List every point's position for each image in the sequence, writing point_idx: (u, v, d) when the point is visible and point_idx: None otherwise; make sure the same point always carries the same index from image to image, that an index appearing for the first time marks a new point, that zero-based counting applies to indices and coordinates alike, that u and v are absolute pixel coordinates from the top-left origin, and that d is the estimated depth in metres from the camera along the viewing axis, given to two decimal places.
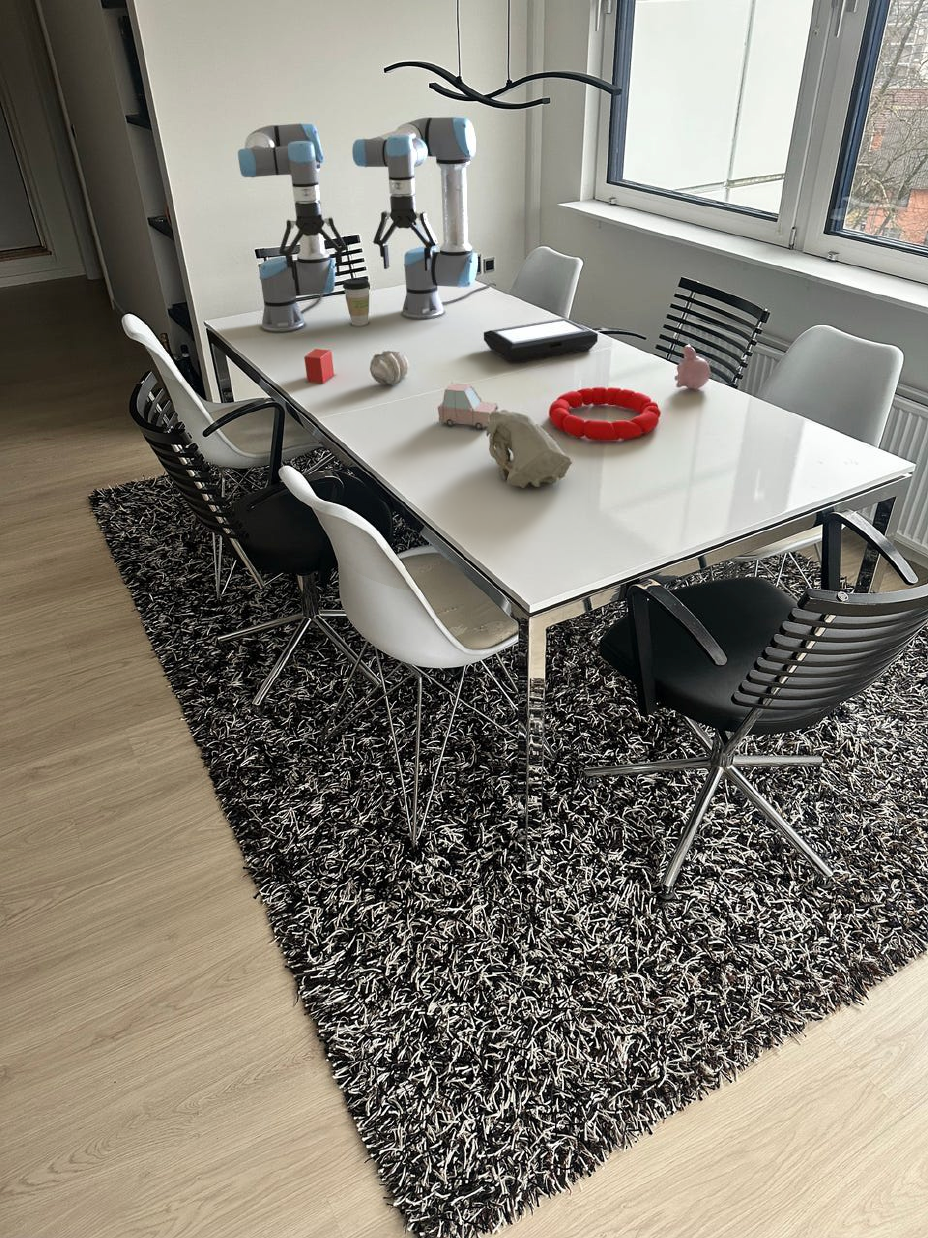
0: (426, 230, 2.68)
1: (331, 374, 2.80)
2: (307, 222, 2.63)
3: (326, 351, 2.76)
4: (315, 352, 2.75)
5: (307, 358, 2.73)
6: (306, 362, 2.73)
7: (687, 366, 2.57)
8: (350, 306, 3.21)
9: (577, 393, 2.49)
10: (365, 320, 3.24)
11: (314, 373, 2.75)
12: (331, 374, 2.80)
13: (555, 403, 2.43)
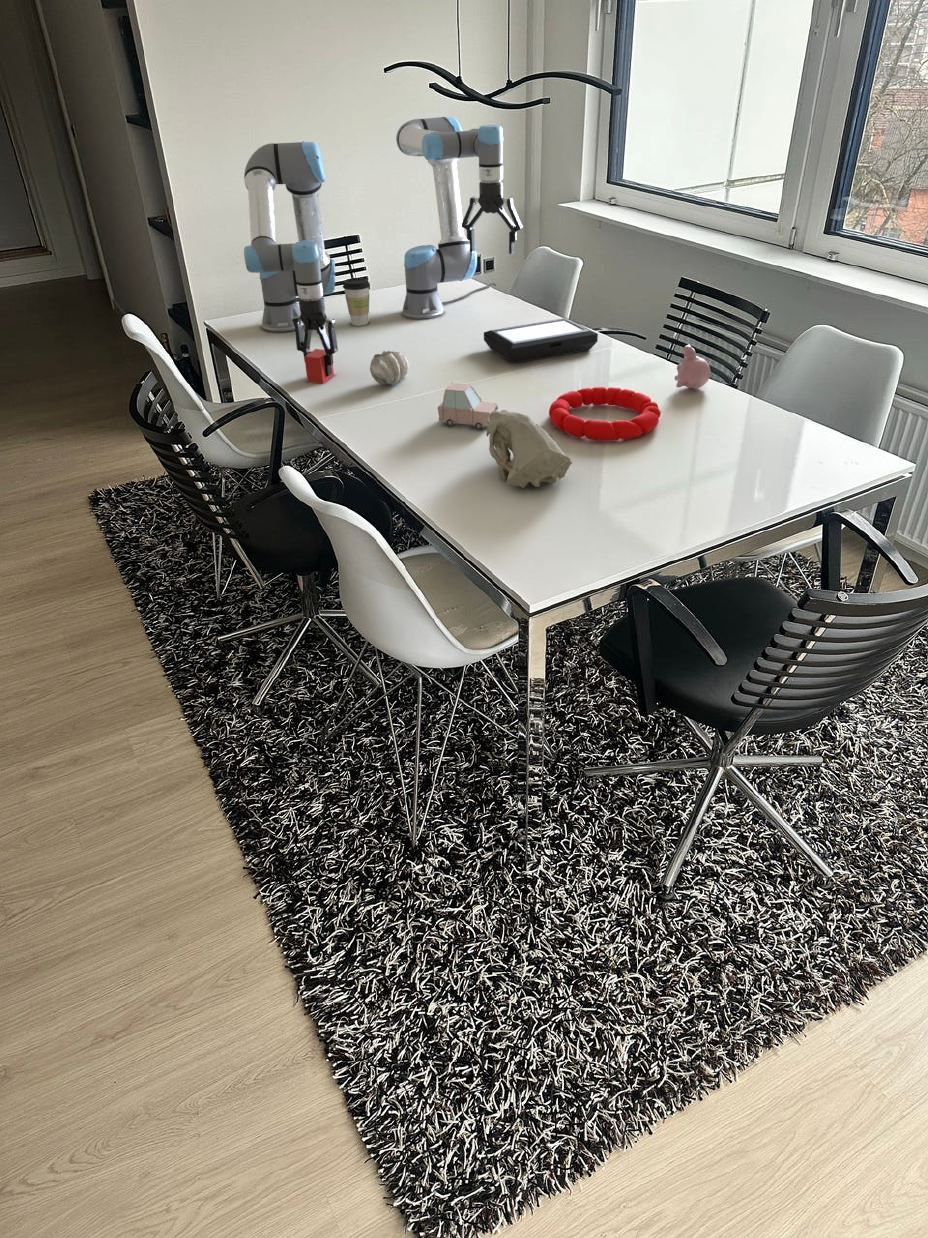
0: (512, 215, 2.84)
1: (331, 374, 2.80)
2: (308, 314, 2.67)
3: None
4: (315, 352, 2.75)
5: (307, 358, 2.73)
6: (306, 362, 2.73)
7: (687, 366, 2.57)
8: (350, 306, 3.21)
9: (577, 393, 2.49)
10: (365, 320, 3.24)
11: (314, 373, 2.75)
12: (331, 374, 2.80)
13: (555, 403, 2.43)
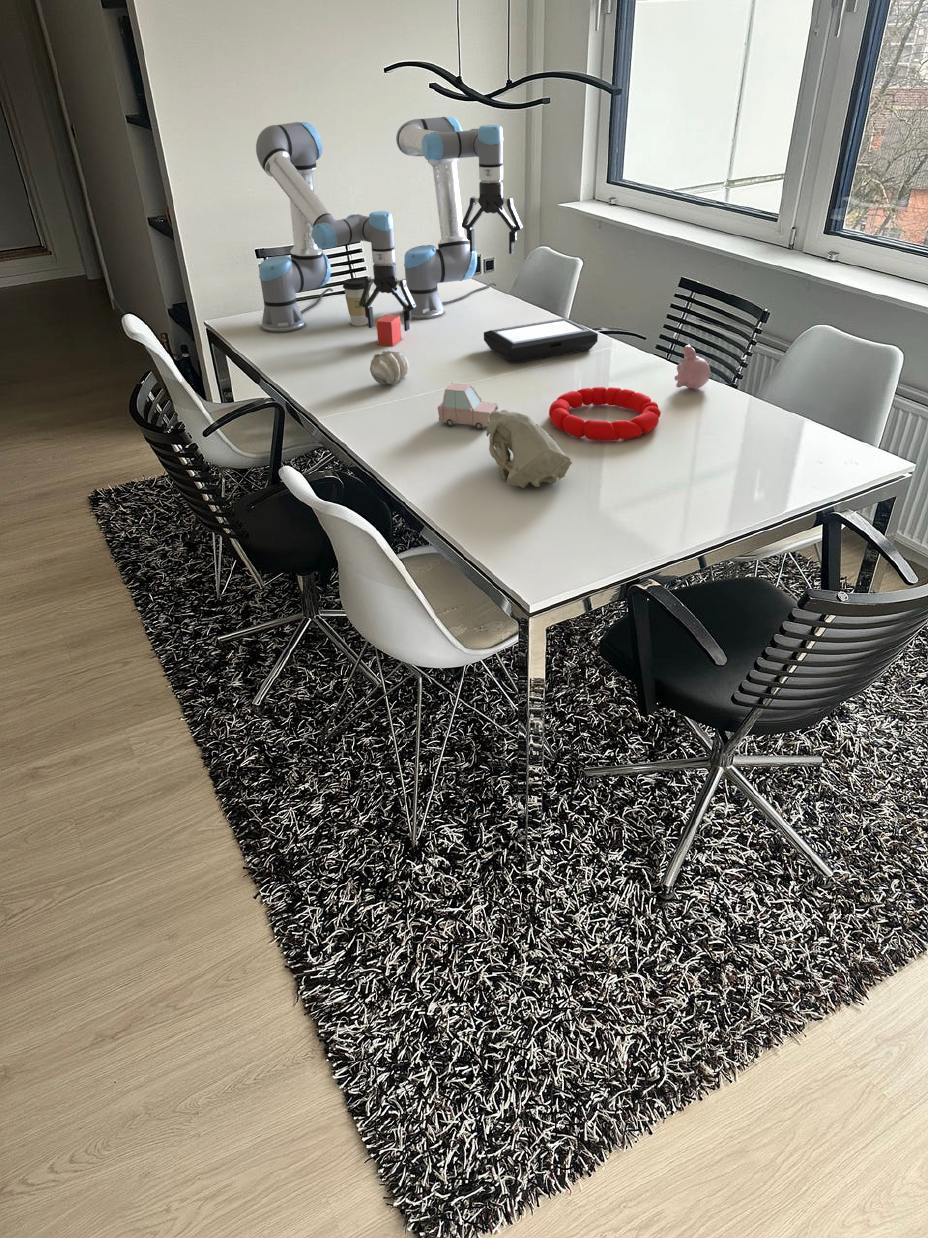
0: (512, 215, 2.84)
1: (399, 337, 3.08)
2: (382, 281, 2.96)
3: (395, 316, 3.05)
4: (386, 317, 3.04)
5: (379, 323, 3.01)
6: (378, 326, 3.02)
7: (687, 366, 2.57)
8: (350, 306, 3.21)
9: (577, 393, 2.49)
10: (365, 320, 3.24)
11: (385, 336, 3.03)
12: (399, 338, 3.08)
13: (555, 403, 2.43)
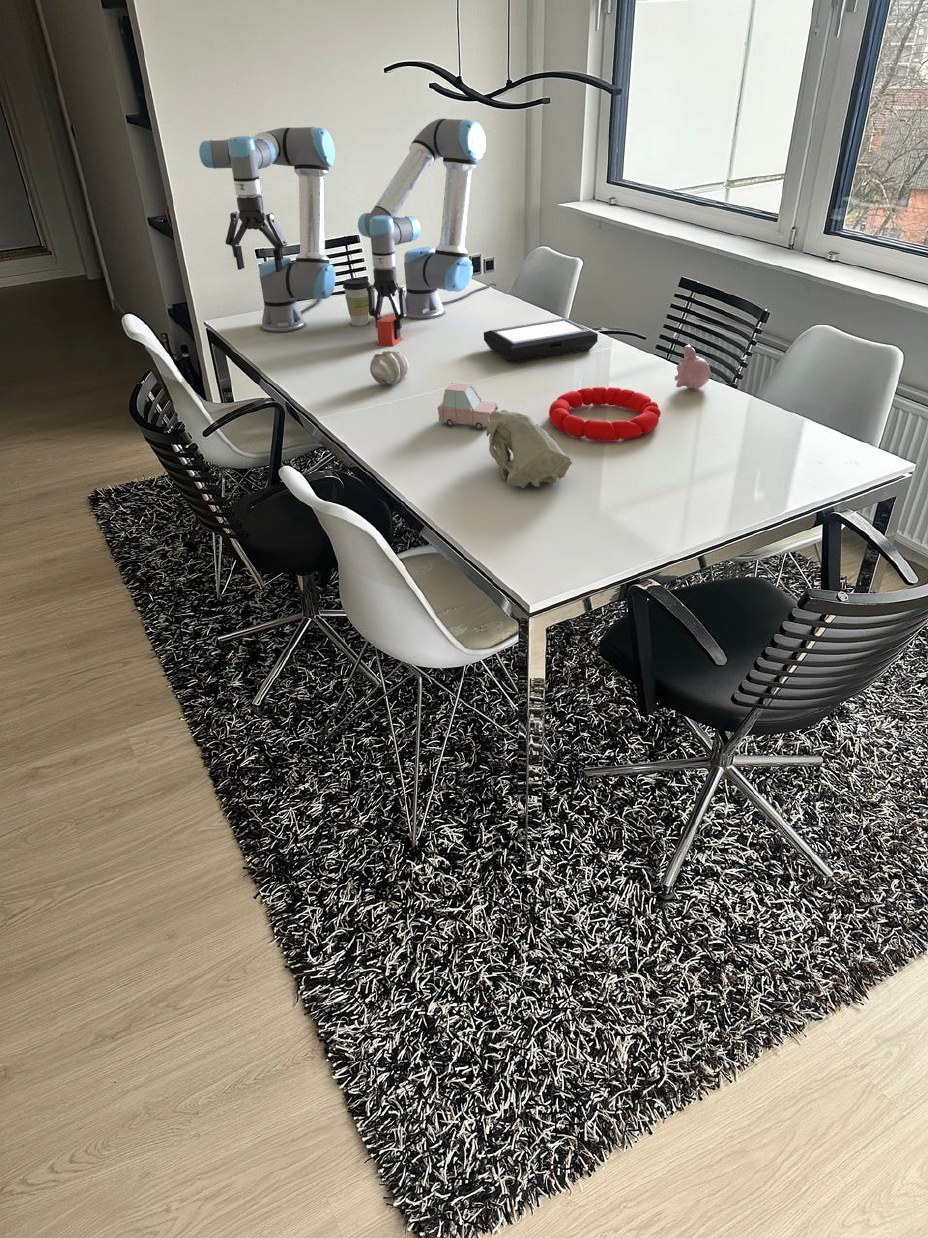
0: (400, 303, 2.98)
1: None
2: (247, 216, 2.68)
3: None
4: (386, 317, 3.04)
5: (379, 323, 3.01)
6: (378, 326, 3.02)
7: (687, 366, 2.57)
8: (350, 306, 3.21)
9: (577, 393, 2.49)
10: (365, 320, 3.24)
11: (385, 336, 3.03)
12: (399, 338, 3.08)
13: (555, 403, 2.43)
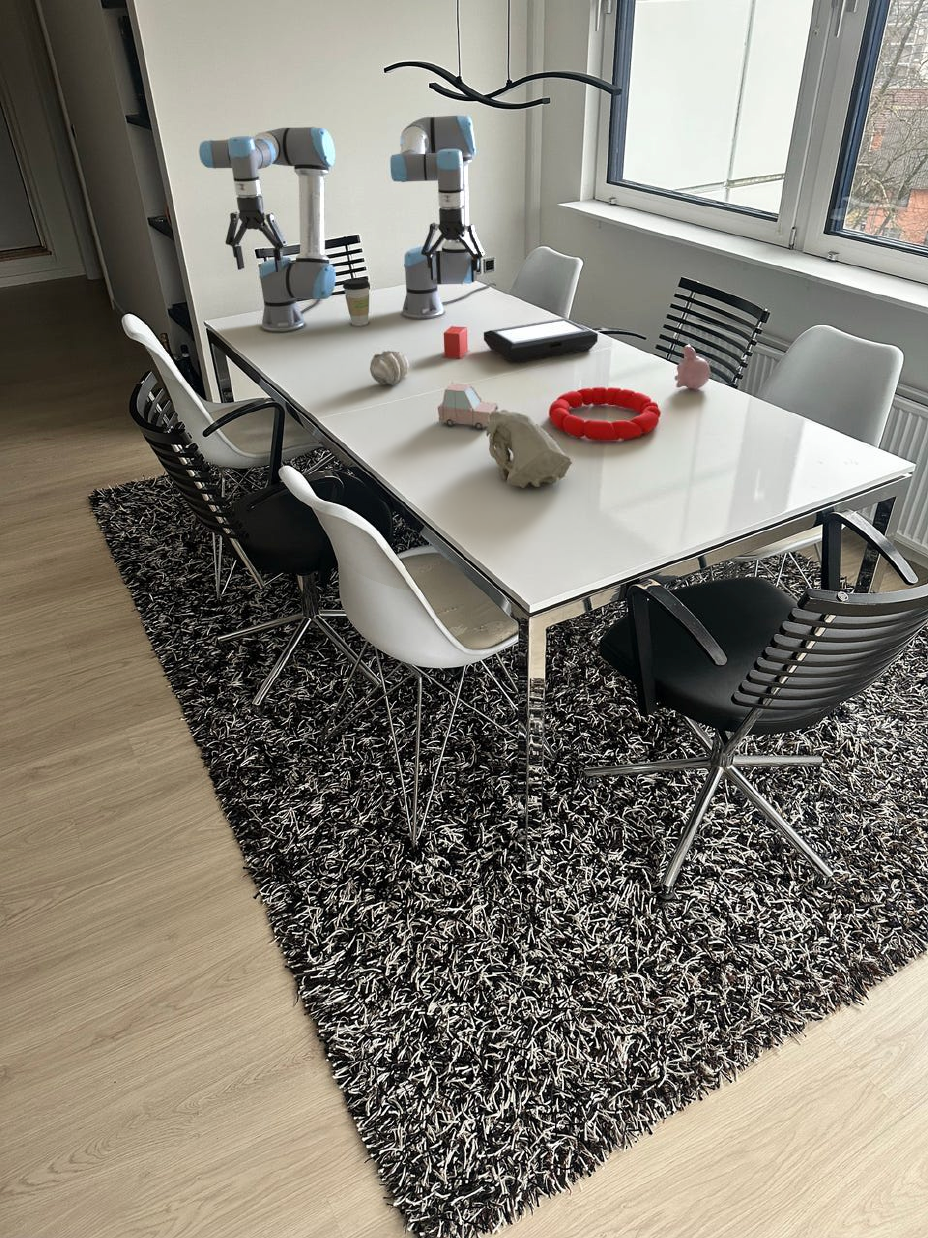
0: (474, 242, 2.72)
1: (466, 349, 2.95)
2: (247, 216, 2.68)
3: (462, 328, 2.92)
4: (453, 329, 2.91)
5: (446, 334, 2.88)
6: (445, 338, 2.89)
7: (687, 366, 2.57)
8: (350, 306, 3.21)
9: (577, 393, 2.49)
10: (365, 320, 3.24)
11: (452, 348, 2.90)
12: (466, 350, 2.95)
13: (555, 403, 2.43)
